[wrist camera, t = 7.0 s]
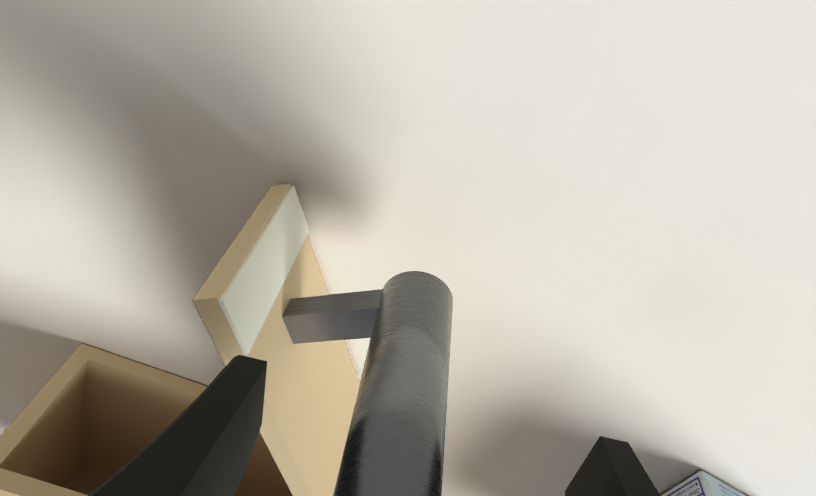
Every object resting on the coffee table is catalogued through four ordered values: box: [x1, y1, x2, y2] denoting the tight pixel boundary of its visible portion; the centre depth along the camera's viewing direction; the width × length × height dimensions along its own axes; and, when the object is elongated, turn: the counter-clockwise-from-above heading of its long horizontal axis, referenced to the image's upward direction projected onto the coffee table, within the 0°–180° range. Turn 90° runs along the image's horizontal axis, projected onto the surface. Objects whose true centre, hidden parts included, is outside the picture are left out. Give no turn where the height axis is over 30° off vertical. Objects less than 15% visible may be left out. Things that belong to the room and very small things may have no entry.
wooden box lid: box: [192, 183, 453, 496], centre depth 15 cm, size 5×12×10 cm, turn 12°
